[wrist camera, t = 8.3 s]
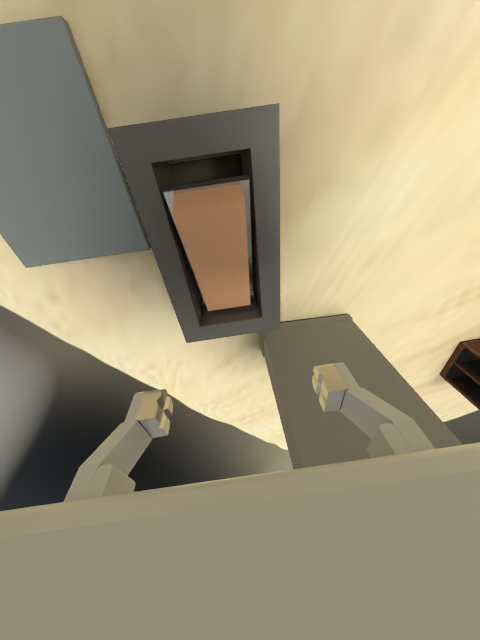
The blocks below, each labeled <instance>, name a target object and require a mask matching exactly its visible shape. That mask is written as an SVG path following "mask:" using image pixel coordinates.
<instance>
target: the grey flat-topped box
mask: <svg viewBox="0 0 480 640" xmlns="http://www.w3.org/2000/svg"><path fill="white" fill-rule="evenodd" d="M261 339H262V355H263V357H265V360H266V364H267V368H268V372H269V376H270V380H271V384H272V387H273V391H274V395H275V399H276V403H277V407H278V411H279V415H280V419H281V423H282V426H283V430H284V434H285V438H286V442H287V446H288V450H289V453H290V458H291V461H292V465H293V469H299V468H306V467H313V466H320V465H327V464H334V463H341V462H348V461H355V460H362V459H369V458H370V456H369V454H368V452H367V448H368V446H369V444H370V442H371V441H372V439H371V438H370V437H369V436H368V435H366V434H365V433H364V432H363V431H362V430H361V429H360V428H359V427H357V426H356V425H355V424H354V423H353V422H352V421H351V420H349V419H348V418H347V417H346V416H345V415H344V414H343V413H342V412H340V410H339V411H331V412H324V411H323V409H322V407H321V404H320V402H319V397H320V396H319V395H317V394H316V393H315V390H314V387H313V383H312V376H313V375H314V372H313V368H314V367H315V366H320V365H326V364H334V363H341V362H343V363H344V364H345V365H346V367H347V368H348V370H349V371H350V373H351V375H352V376H353V378H354V379H355V381H356V382H357V384H358V386H359V387H360V388H364V389H366V390H368V391H369V392H371V393H372V394H374V395H376V396H377V397H379V398H380V399H382V400H383V401H385V402H387V403H388V404H390V405H391V406H393V407H395V408H396V409H398V410H399V411H401V412H403V413H404V414H406V415H407V416H409V417H411V418H412V419H413V420H414V421H415V422H416V424H417V425H418V426H419V428H420V429H421V430H422V432H423V433H424V434H425V436H426V437H427V438H428V440H429V441H430V442H431V443H432V445H433V446H434V447H435V449H439V448H446V447H453V446H460V445H462V444H461V442H460V441H459V440H458V439H457V438H456V437H455V436H454V434H453V433H452V432H451V431H450V430H449V429H448V428H447V427H446V426H445V424H444V423H443V422H442V421H441V420H440V419H439V418H438V416H437V415H436V414H435V413H434V412H433V411H432V410H431V409H430V407H429V406H428V405H427V404H426V403H425V402H424V401H423V400H422V398H421V397H420V396H419V395H418V394H417V393H416V392H415V390H414V389H413V388H412V387H411V386H410V385H409V384H408V383H407V381H406V380H405V379H404V378H403V377H402V376H401V375H400V374H399V372H398V371H397V370H396V369H395V368H394V367H393V366H392V365H391V363H390V362H389V361H388V360H387V359H386V358H385V357H384V356H383V354H382V353H381V352H380V351H379V350H378V349H377V348H376V347H375V345H374V344H373V343H372V342H371V341H370V340H369V339H368V338H367V336H366V335H365V334H364V333H363V332H362V331H361V330H360V329H359V327H358V326H357V325H356V324H355V323H354V322H353V321H352V317H351V316H350V315H349V314H348V315H340V316H332V317H323V318H315V319H307V320H299V321H291V322H283V323H280V329H275V330H268V331H262V332H261Z"/></svg>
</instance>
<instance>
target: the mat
mask: <svg viewBox="0 0 480 640" xmlns="http://www.w3.org/2000/svg"><path fill="white" fill-rule="evenodd" d="M0 234H1V235H2V237H3V238H4V239H5V241H6V242H7V243H8V245H9V246H10V247H11V249H12V250H13V251H14V253H15V254H16V255H17V256H18V258H19V259H20V260H21V262H22V263H23V264H24V266H25V267H26V268H28V267H34V266H41V265H48V264H55V263H61V262H68V261H75V260H81V259H88V258H95V257H101V256H108V255H115V254H121V253H128V252H135V251H141V250H148V249H150V244H149V241H148V239H147V236H146V233H145V231H144V228H143V225H142V223H141V220H140V217H139V214H138V212H137V209H136V206H135V204H134V201H133V198H132V195H131V193H130V190H129V187H128V185H127V182H126V179H125V177H124V174H123V171H122V168H121V166H120V163H119V160H118V158H117V155H116V152H115V149H114V147H113V144H112V141H111V139H110V136H109V133H108V130H107V128H106V125H105V122H104V120H103V117H102V114H101V112H100V109H99V106H98V103H97V101H96V98H95V95H94V93H93V90H92V87H91V84H90V82H89V79H88V76H87V74H86V71H85V68H84V66H83V63H82V60H81V57H80V55H79V52H78V49H77V47H76V44H75V41H74V38H73V36H72V33H71V30H70V28H69V25H68V22H67V21H66V20H65V19H64V18H63V17H62V16H56V17H50V18H43V19H36V20H29V21H22V22H15V23H8V24H1V25H0Z"/></svg>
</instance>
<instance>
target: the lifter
mask: <svg viewBox="0 0 480 640" xmlns="http://www.w3.org/2000/svg"><path fill="white" fill-rule="evenodd" d="M237 184H240V185H241V189H242V193H243V197H244V201H245V212H246V230H247V249H248V267H249V285H250V289H253V274H252V244H251V214H250V185H249V177H248V174H247V175H240V176H233V177H227V178H220V179H213V180H206V181H200V182H193V183H186V184H179V185H173V186H166V187H164V189H163V193H164V196H165V199H166V202H167V204H168V207H169V210H170V212H171V215H172V218H173V220H174V223H175V226H176V228H177V231H178V234H179V236H180V233H179V230H178V227H177V225H176V222H175V219H174V217H173V214H172V211H173V196H174V194H177V193H183V192H190V191H197V190H204V189H210V188H217V187H224V186H231V185H237ZM180 239H181V242H182V244H183V241H182V238H181V236H180ZM183 247H184V244H183ZM184 250H185V252H186V249H185V247H184ZM186 255H187V252H186ZM187 258H188V261H189V263H190V260H189V257H188V255H187ZM190 266H191V263H190ZM191 269H192V271H193V268H192V266H191ZM193 274H194V271H193ZM194 277H195V274H194ZM195 279H196V277H195ZM196 282H197V279H196ZM197 285H198V282H197ZM198 287H199V285H198ZM199 290H200V287H199ZM200 293H201V290H200ZM201 295H202V293H201ZM253 298H254V292H253V290H250V299H253ZM202 304H203V306H206V304H205V301H204V298H203V296H202Z"/></svg>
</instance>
